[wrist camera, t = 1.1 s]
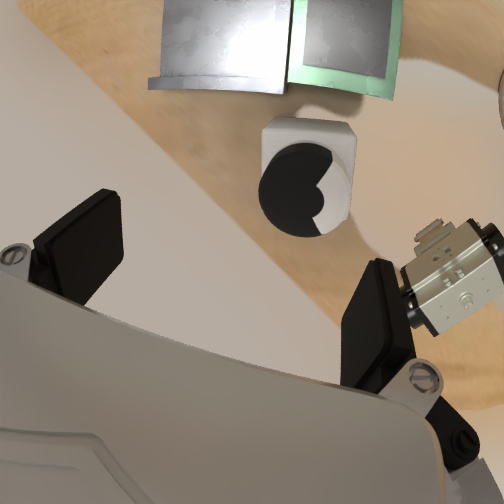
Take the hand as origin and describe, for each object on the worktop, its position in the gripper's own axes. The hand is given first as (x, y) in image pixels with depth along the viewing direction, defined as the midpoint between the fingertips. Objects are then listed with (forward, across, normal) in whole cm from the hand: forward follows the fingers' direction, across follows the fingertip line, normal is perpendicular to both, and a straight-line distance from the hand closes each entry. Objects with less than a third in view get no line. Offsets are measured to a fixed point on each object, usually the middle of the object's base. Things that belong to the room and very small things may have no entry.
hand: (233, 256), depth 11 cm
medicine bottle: (+21, -2, +1) cm, 22 cm away
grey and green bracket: (+21, +4, -10) cm, 24 cm away
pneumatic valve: (+22, -18, +6) cm, 28 cm away
